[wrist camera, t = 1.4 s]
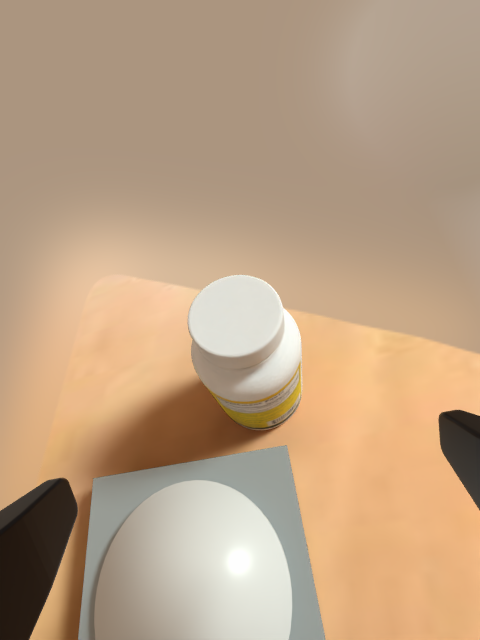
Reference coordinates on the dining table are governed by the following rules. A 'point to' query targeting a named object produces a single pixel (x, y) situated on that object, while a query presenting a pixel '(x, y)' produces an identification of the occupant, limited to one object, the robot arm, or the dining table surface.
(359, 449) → the dining table surface
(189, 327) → the supplement bottle
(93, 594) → the scale
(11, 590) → the robot arm
